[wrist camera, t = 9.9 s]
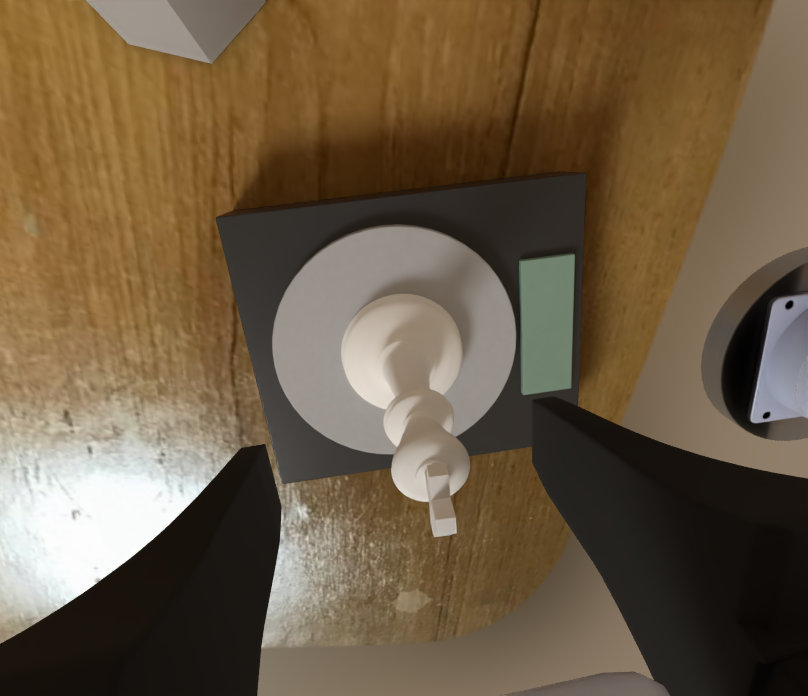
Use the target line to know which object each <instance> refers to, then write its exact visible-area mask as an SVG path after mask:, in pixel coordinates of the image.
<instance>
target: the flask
mask: <svg viewBox="0 0 808 696" xmlns="http://www.w3.org/2000/svg"><path fill="white" fill-rule="evenodd" d="M86 1H87V2H88V3H89V4H90V5H91V6H92V7H93V8H94V9H95V10H96V11H97V12H98V13H99V14H100V15H101V16H102V17H103V18H104V19H105V20H106V21H107V23H108V24H109V25H110V26H111V27H112V28H113V29H114V30H115V31H116V32H117V33H118V34H119V35H120V36H121V37H122V38H123V39H124V40H125V41H126V42H127V43H128V44H130V45H134V46H139V47H143V48H147V49H151V50H156V51H160V52H164V53H169V54H173V55H177V56H182V57H186V58H190V59H194V60H199V61H203V62H207V63H213V62H214V60H215V59H216V58H217V57H218V56H219V55H220V54H221V53H222V51H223V50H224V49H225V48H226V47H227V46H228V45H229V44H230V42H231V41H232V40H233V39H234V38H235V37H236V36H237V34H238V33H239V32H240V31H241V30H242V29H243V28H244V27H245V25H246V24H247V23H248V22H249V21H250V20H251V19H252V18H253V16H254V15H255V14H256V13H257V12H258V11H259V10H260V8H261V7H262V6H263V5H264V4H265V1H266V0H86Z"/></svg>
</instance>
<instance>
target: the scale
mask: <svg viewBox="0 0 808 696" xmlns="http://www.w3.org/2000/svg"><path fill="white" fill-rule="evenodd" d="M585 193H586V173H581V172H552V173H544V174H536V175H527V176H519V177H511V178H502V179H494V180H486V181H477V182H469V183H460V184H452V185H444V186H435V187H427V188H419V189H410V190H402V191H394V192H385V193H377V194H369V195H360V196H352V197H344V198H335V199H327V200H319V201H310V202H302V203H294V204H285V205H277V206H268V207H260V208H252V209H243V210H235V211H231V212H228V213H226V214H223V215H220V216H218V217H216V222H217V226H218V230H219V234H220V238H221V242H222V246H223V250H224V254H225V258H226V262H227V266H228V270H229V274H230V278H231V282H232V286H233V290H234V294H235V298H236V302H237V306H238V310H239V314H240V318H241V322H242V326H243V330H244V334H245V338H246V342H247V346H248V350H249V354H250V358H251V362H252V366H253V370H254V374H255V378H256V382H257V386H258V390H259V394H260V398H261V402H262V406H263V410H264V414H265V418H266V422H267V426H268V430H269V434H270V438H271V442H272V446H273V450H274V454H275V458H276V462H277V466H278V470H279V474H280V478H281V482H282V484H287V483H293V482H300V481H307V480H313V479H320V478H326V477H333V476H340V475H346V474H353V473H360V472H366V471H373V470H380V469H386V468H391V466H392V460H393V457H394V454H395V451H396V449H397V446H395V445H394V444H393V443H392V442H391V440H390V439H389V438H388V436H387V434H386V432H385V429H384V424H383V420H384V414H385V411H386V409H382V408H379V407H377V406H375V405H373V404H371V403H369V402H367V401H366V400H364V399H363V398H362V397H361V396H360V395H359V394H358V393H357V392H356V391H355V390H354V389H353V387H352V386H351V384H350V383H349V381H348V379H347V376H346V374H345V370H344V368H343V364H342V358H341V346H342V340H343V336H344V333H345V331H346V329H347V327H348V325H349V323H350V322H351V320H352V319H353V318H354V316H355V315H356V314H357V313H358V312H359V311H360V310H361V309H362V308H364V307H365V306H366V305H368V304H369V303H371V302H373V301H375V300H377V299H379V298H382V297H385V296H389V295H394V294H413V295H419V296H422V297H425V298H428V299H430V300H432V301H434V302H436V303H437V304H439V305H440V306H441V307H443V308H444V309H445V310H446V311H447V312H448V313H449V315H450V316H451V317H452V318H453V320H454V322H455V323H456V325H457V328H458V330H459V333H460V337H461V342H462V350H463V356H462V364H461V368H460V371H459V374H458V376H457V378H456V380H455V381H454V383H453V385H452V386H451V387H450V388H449V390H448V391H447V392H446V393H445V394H444V395H443V396H444V397H445V398H446V399H447V400H448V401H449V402H450V404H451V406H452V408H453V412H454V424H453V429H452V432H451V434H452V435H453V436H454V437H456V438H457V439H458V440H459V441H460V442H461V443H462V444H463V446H464V447H465V449H466V450H467V452H468V455H469V456H473V455H480V454H486V453H493V452H500V451H506V450H513V449H520V448H526V447H532V400H533V399H539V398H545V397H551V396H555V397H558V398H560V399H563V400H565V401H567V402H570V403H572V404H574V405H576V406H578V391H579V363H580V335H581V306H582V278H583V250H584V221H585Z"/></svg>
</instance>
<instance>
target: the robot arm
mask: <svg viewBox="0 0 808 696" xmlns="http://www.w3.org/2000/svg"><path fill="white" fill-rule="evenodd" d="M787 302H788V304H787V306H785V305H786V303H787ZM764 413H765V414H764ZM763 414H764V415H763ZM801 416H803V417H805V418H807V419H808V292H802V293H795V294H787V295H780V296H776V297H774V298H772V299H771V300H770V301H769V303H768V306H767V311H766V316H765V322H764V327H763V332H762V337H761V343H760V348H759V353H758V358H757V364H756V369H755V374H754V380H753V385H752V390H751V395H750V401H749V406H748V411H747V418H748V420H750V421H751V422H753V423H762V422H768V421H775V420H781V419H788V418H795V417H801ZM532 462H533V465H534V467H535V469H536V471H537V473H538V475H539V478H540V480H541V482H542V484H543V486H544V488H545V490H546V492H547V493H548V495H549V497H550V498H551V500H552V501H553V503H554V504H555V506H556V507H557V509H558V510H559V512H560V513H561V515H562V516H563V518H564V519H565V521H566V522H567V524H568V525H569V527H570V528H571V530H572V531H573V533H574V534H575V536H576V537H577V539H578V540H579V542H580V543H581V545H582V546H583V548H584V549H585V551H586V552H587V554H588V555H589V557H590V558H591V560H592V561H593V563H594V565H595V566H596V568H597V569H598V571H599V573H600V574H601V576H602V577H603V579H604V582H605V583H606V585H607V587H608V589H609V591H610V593H611V595H612V597H613V599H614V600H615V602H616V604H617V606H618V608H619V610H620V612H621V614H622V616H623V618H624V619H625V621H626V623H627V626H628V627H629V630H630V631H631V634H632V636H633V638H634V640H635V642H636V644H637V645H638V647H639V650H640V652H641V654H642V655H643V658H644V660H645V662H646V664H647V666H648V668H649V670H650V673H651V675H652V677H653V679H654V680H652V679H650V678H648V677H646V676H644V675H642V674H639V673H636V672H614V673H600V674H596V675H591V676H587V677H582V678H578V679H574V680H569V681H564V682H560V683H555V684H551V685H546V686H542V687H538V688H533V689H529V690H524V691H520V692H515V693H511V694H507V695H502V696H808V479H807V478H800V477H795V476H789V475H784V474H778V473H772V472H768V471H763V470H758V469H753V468H748V467H744V466H740V465H736V464H732V463H728V462H724V461H720V460H716V459H712V458H709V457H705V456H701V455H698V454H695V453H692V452H689V451H685V450H682V449H679V448H676V447H673V446H670V445H667V444H664V443H661V442H659V441H656V440H654V439H651V438H649V437H646V436H644V435H641V434H638V433H636V432H633V431H631V430H629V429H626V428H624V427H622V426H619V425H617V424H615V423H613V422H611V421H608V420H606V419H604V418H602V417H600V416H597V415H595V414H593V413H591V412H589V411H587V410H585V409H583V408H580V407H578V406H576V405H574V404H572V403H570V402H567V401H565V400H563V399H560V398H558V397H555V396H551V397H545V398H539V399H533V400H532ZM280 529H281V503H280V499H279V495H278V492H277V488H276V484H275V480H274V476H273V472H272V468H271V465H270V461H269V457H268V453H267V449H266V445H265V444H262V445H256V446H250V447H244V448H241V449H240V450H239V451H238V452H237V453H236V454H235V455H234V456H233V458H232V459H231V460H230V461H229V462H228V463H227V464H226V465H225V467H224V468H223V469H222V470H221V471H220V472H219V473H218V475H217V476H216V477H215V478H214V479H213V480H212V481H211V482H210V483H209V484H208V486H207V487H206V488H205V489H204V490H203V491H202V492H201V493H200V494H199V495H198V497H197V498H196V499H195V500H194V501H193V502H192V503H191V504H190V505H189V506H188V507H187V508H186V509H185V510H184V511H183V512H182V513H181V514H180V515H179V516H178V517H177V518H176V519H175V520H174V521H173V522H172V523H171V524H170V525H168V526H167V527H166V528H165V529H164V530H163V531H162V532H161V533H160V534H159V535H157V536H156V537H155V538H154V539H153V540H152V541H151V542H149V543H148V544H147V545H146V546H145V547H143V548H142V549H141V550H140V551H139V552H138V553H136V554H135V555H134V556H133V557H131V558H130V559H129V560H128V561H126V562H125V563H124V564H122V565H121V566H120V567H118V568H117V569H116V570H114V571H113V572H111V573H110V574H109V575H107V576H106V577H105V578H103V579H102V580H101V581H99V582H98V583H97V584H95V585H94V586H92V587H91V588H90V589H88V590H87V591H85V592H84V593H83V594H81V595H80V596H78V597H77V598H75V599H74V600H72V601H70V602H69V603H67V604H66V605H64V606H63V607H61V608H60V609H58V610H57V611H55V612H53V613H52V614H50V615H49V616H47V617H45V618H44V619H42V620H41V621H39V622H37V623H36V624H34V625H32V626H31V627H29V628H27V629H26V630H24V631H22V632H21V633H19V634H17V635H15V636H14V637H12V638H10V639H8V640H6V641H5V642H3V643H1V644H0V696H257V690H258V678H259V677H258V676H259V667H260V655H261V645H262V638H263V631H264V624H265V619H266V614H267V608H268V603H269V598H270V592H271V587H272V582H273V577H274V571H275V566H276V560H277V555H278V549H279V543H280Z"/></svg>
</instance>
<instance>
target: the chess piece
mask: <svg viewBox="0 0 808 696" xmlns="http://www.w3.org/2000/svg"><path fill="white" fill-rule="evenodd" d="M462 356H463V350H462V342H461V337H460V333H459V330H458V328H457V325H456V323H455V322H454V320H453V318H452V317H451V316H450V315H449V313H448V312H447V311H446V310H445V309H444V308H443V307H441V306H440V305H439V304H437V303H436V302H434V301H432V300H430V299H428V298H425V297H422V296H419V295H413V294H394V295H389V296H385V297H382V298H379V299H377V300H375V301H373V302H371V303H369V304H368V305H366V306H365V307H364V308H362V309H361V310H360V311H359V312H358V313H357V314H356V315H355V316H354V318H353V319H352V320H351V322H350V323H349V325H348V327H347V329H346V331H345V333H344V336H343V340H342V346H341V358H342V364H343V368H344V370H345V374H346V376H347V379H348V381H349V383H350V384H351V386H352V387H353V389H354V390H355V391H356V392H357V393H358V394H359V395H360V396H361V397H362V398H363V399H364V400H366V401H367V402H369V403H371V404H373V405H375V406H377V407H379V408H382V409H386V411H385V414H384V420H383V424H384V429H385V432H386V434H387V436H388V438H389V439H390V440H391V442H392V443H393V444H394V445H395V446H397V449H396V451H395V454H394V457H393V460H392V466H391V472H392V478H393V481H394V483H395V485H396V486H397V488H398V489H399V490H400V491H401V492H402V493H403V494H404V495H406V496H407V497H409V498H412V499H414V500H418V501H423V502H429V506H430V519H431V527H432V531H433V536H434V537H439V536H446V535H452V534H456V533H457V530H456V516H455V513H454V509H453V506H452V502H451V499H450V496H451V495H453V494H454V493H455V492H457V491H458V490H459V489H460V488H461V487H462V486H463V484H464V483H465V481H466V479H467V477H468V475H469V471H470V458H469V455H468V452H467V450H466V449H465V447H464V446H463V444H462V443H461V442H460V441H459V440H458V439H457V438H456V437H454V436H453V435H452V434H451V432H452V429H453V424H454V412H453V408H452V406H451V404H450V402H449V401H448V400H447V399H446V398H445V397H444V396H443V395H444V394H445V393H446V392H447V391H448V390H449V388H450V387H451V386H452V385H453V383H454V381H455V380H456V378H457V376H458V374H459V371H460V368H461V364H462Z"/></svg>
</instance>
